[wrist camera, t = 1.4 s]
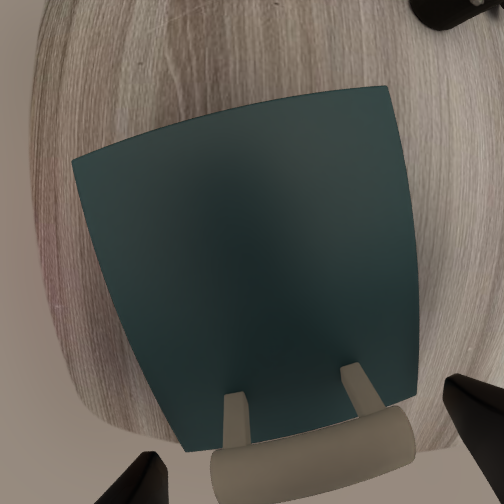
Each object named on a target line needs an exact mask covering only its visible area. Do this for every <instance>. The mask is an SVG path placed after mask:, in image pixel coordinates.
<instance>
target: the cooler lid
mask: <svg viewBox="0 0 504 504" xmlns="http://www.w3.org/2000/svg"><path fill="white" fill-rule="evenodd" d="M71 163H72V167H73V172H74V176H75V180H76V185H77V189H78V193H79V197H80V201H81V204H82V208H83V212H84V216H85V219H86V223H87V226H88V230H89V233H90V236H91V240H92V243H93V246H94V249H95V252H96V255H97V258H98V261H99V264H100V267H101V270H102V273H103V276H104V279H105V282H106V285H107V287H108V290H109V293H110V296H111V298H112V301H113V304H114V306H115V309H116V311H117V314H118V316H119V319H120V321H121V324H122V326H123V329H124V331H125V333H126V336H127V338H128V340H129V343H130V345H131V347H132V350H133V352H134V354H135V356H136V359H137V361H138V363H139V365H140V367H141V369H142V372H143V374H144V376H145V378H146V380H147V382H148V384H149V386H150V388H151V390H152V392H153V394H154V396H155V398H156V400H157V402H158V404H159V406H160V408H161V410H162V412H163V413H164V415H165V417H166V419H167V421H168V423H169V425H170V426H171V428H172V430H173V432H174V433H175V435H176V437H177V439H178V440H179V442H180V444H181V446H182V447H183V449H184V451H185V452H194V451H203V450H212V449H219V448H223V449H222V450H216V451H214V452H213V453H212V456H211V461H210V473H211V481H212V486H213V490H214V493H215V496H216V498H217V501H218V502H219V504H274V503H281V502H286V501H291V500H296V499H300V498H305V497H309V496H313V495H317V494H321V493H325V492H329V491H333V490H336V489H340V488H343V487H347V486H350V485H353V484H356V483H359V482H362V481H365V480H368V479H371V478H374V477H377V476H380V475H382V474H385V473H388V472H390V471H393V470H396V469H398V468H400V467H403V466H405V465H408V464H410V463H411V462H413V460H414V459H415V454H416V445H415V438H414V434H413V430H412V427H411V425H410V422H409V420H408V418H407V416H406V415H405V413H404V412H403V410H402V409H401V408H400V407H398V406H391V407H388V408H386V407H387V406H390V405H393V404H395V403H398V402H400V401H403V400H405V399H408V398H410V397H413V396H415V395H416V394H417V381H418V363H419V283H418V265H417V251H416V240H415V230H414V221H413V213H412V205H411V198H410V191H409V184H408V178H407V172H406V166H405V161H404V155H403V150H402V145H401V141H400V136H399V131H398V127H397V122H396V118H395V114H394V110H393V106H392V102H391V98H390V94H389V91H388V87H387V86H385V85H384V86H371V87H360V88H350V89H341V90H333V91H325V92H318V93H311V94H304V95H298V96H292V97H286V98H280V99H275V100H270V101H265V102H260V103H255V104H250V105H245V106H241V107H236V108H232V109H228V110H224V111H219V112H215V113H211V114H207V115H204V116H200V117H196V118H192V119H189V120H185V121H182V122H178V123H175V124H172V125H168V126H165V127H162V128H158V129H155V130H152V131H149V132H146V133H143V134H140V135H137V136H134V137H131V138H128V139H125V140H123V141H120V142H117V143H114V144H111V145H109V146H106V147H103V148H101V149H98V150H96V151H93V152H91V153H88V154H86V155H83V156H81V157H78V158H76V159H73V160H72V161H71ZM355 417H359V418H357V419H354V420H350V421H347V422H344V423H341V424H337V425H334V426H331V427H327V428H323V429H320V430H316V431H312V432H308V433H304V434H300V435H296V436H292V437H288V438H283V439H279V440H274V441H269V442H264V443H259V444H253V445H251V443H257V442H262V441H267V440H272V439H277V438H281V437H286V436H290V435H294V434H299V433H303V432H307V431H311V430H314V429H318V428H322V427H325V426H329V425H333V424H336V423H339V422H343V421H346V420H349V419H352V418H355Z"/></svg>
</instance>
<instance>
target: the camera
mask: <svg viewBox="0 0 504 504" xmlns="http://www.w3.org/2000/svg"><path fill="white" fill-rule="evenodd" d="M410 1H411V6H412V8H413V11H414V12H415V14H416V15H417V16H418V17H419V19H420V20H421V21H422V22H424V23H425V24H426V25H428V26H429V27H431V28H433V29H436V30H439V31H440V30H449V29H451V28H453V27H455V26H457V25H459V24H461V23H463V22H465V21H466V20H468V19H470V18H472V17H474V16H476V15H478V14H480V13H482V12H484V11H486V10H488V9H490V8H492V7H494V6H496V5H498V4H500V5H501V7H502V8H503V9H504V0H410Z"/></svg>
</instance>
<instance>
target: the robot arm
mask: <svg viewBox="0 0 504 504" xmlns="http://www.w3.org/2000/svg"><path fill="white" fill-rule="evenodd" d="M443 402H444V405H445V407H446V409H447V411H448V413H449V415H450V417H451V419H452V421H453V423H454V425H455V427H456V429H457V431H458V433H459V435H460V437H461V439H462V440H463V442H464V444H465V445H466V447H467V448H468V450H469V451H470V453H471V455H472V456H473V458H474V459H475V461H476V463H477V464H478V466H479V467H480V469H481V471H482V472H483V474H484V476H485V477H486V479H487V481H488V482H489V484H490V486H491V487H492V489H493V491H494V492H495V494H496V496H497V498H498V499H499V501H500V503H501V504H504V389H503V388H500V387H497V386H494V385H491V384H488V383H485V382H482V381H479V380H476V379H473V378H470V377H467V376H464V375H461V374H458V373H456V374H453V375H451V376H449V377H447V378H446V379H445V383H444V390H443ZM94 504H169V498H168V471H167V467H166V465H165V464H164V463H163V461H162V460H161V458H160V457H159V455H158V454H157V453H156V452H155V451H146V452H142V453H141V454H140V455H139V456H138V457H137V458H136V460H135V461H134V462H133V463H132V464H131V465H130V466H129V467H128V468H127V470H126V471H125V472H124V473H123V474H122V475H121V476H120V477H119V478H118V479H117V480H116V481H115V482H114V483H113V485H111V486H110V488H109V489H108V490H107V491H106V492H105V493H104V494H103V495H102V496H101V497H100V498H99V499H98V500H97V501H96V502H95V503H94Z"/></svg>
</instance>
